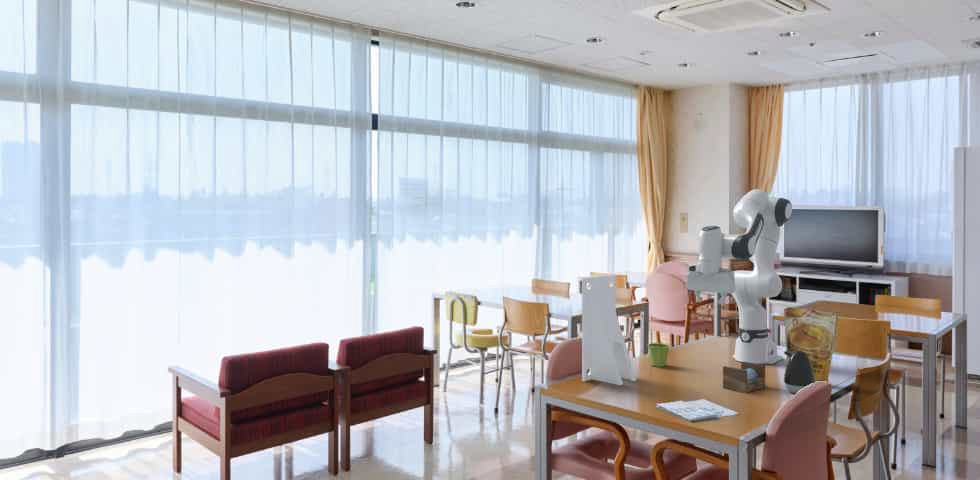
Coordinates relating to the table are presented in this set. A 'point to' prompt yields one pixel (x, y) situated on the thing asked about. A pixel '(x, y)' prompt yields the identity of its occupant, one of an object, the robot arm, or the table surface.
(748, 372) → the blue roll
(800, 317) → the pancake mix bag
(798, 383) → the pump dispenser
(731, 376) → the open wooden box
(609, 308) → the white bracket plate
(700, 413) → the light blue flat cloth
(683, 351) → the table surface
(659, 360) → the plant pot
